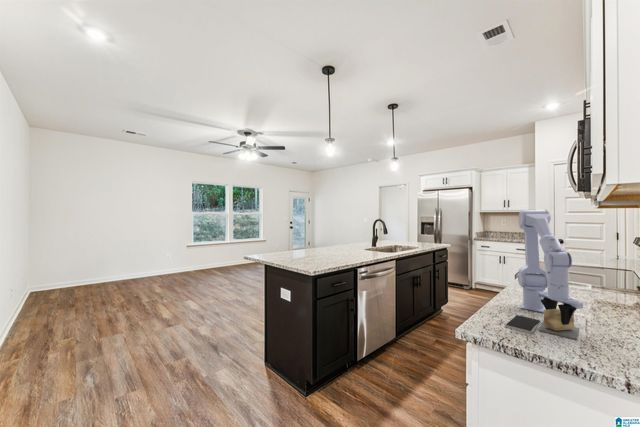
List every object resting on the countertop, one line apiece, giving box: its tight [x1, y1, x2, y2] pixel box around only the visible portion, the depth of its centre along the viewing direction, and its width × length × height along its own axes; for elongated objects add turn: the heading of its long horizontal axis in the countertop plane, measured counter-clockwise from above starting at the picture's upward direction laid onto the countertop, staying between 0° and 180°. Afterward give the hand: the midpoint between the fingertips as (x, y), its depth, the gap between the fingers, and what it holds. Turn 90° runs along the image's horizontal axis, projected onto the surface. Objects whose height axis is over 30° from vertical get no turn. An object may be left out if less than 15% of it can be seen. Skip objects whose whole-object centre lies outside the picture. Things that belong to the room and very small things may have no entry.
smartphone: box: [505, 314, 542, 334], centre depth 102 cm, size 8×1×15 cm
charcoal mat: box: [538, 319, 580, 341], centre depth 96 cm, size 12×10×1 cm
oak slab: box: [543, 308, 575, 331], centre depth 96 cm, size 4×8×6 cm, turn 99°
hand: (558, 321), depth 96 cm, fingers closed on oak slab, 4 cm apart
